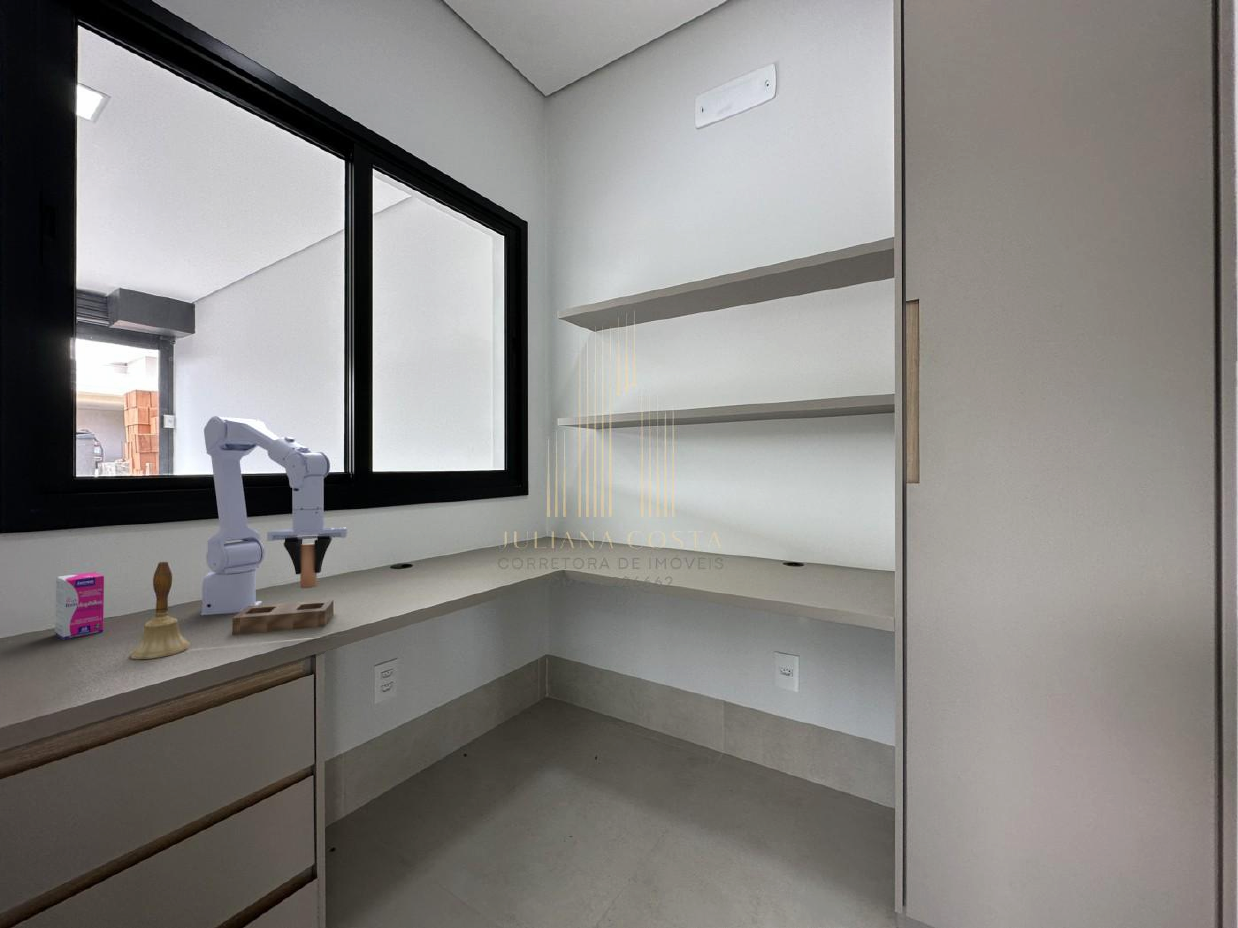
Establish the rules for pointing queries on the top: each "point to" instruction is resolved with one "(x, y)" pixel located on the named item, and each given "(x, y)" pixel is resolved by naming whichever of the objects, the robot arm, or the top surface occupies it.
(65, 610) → the supplement box
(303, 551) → the peg
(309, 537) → the robot arm
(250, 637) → the top surface
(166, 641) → the hand bell
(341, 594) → the top surface
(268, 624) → the hole block
